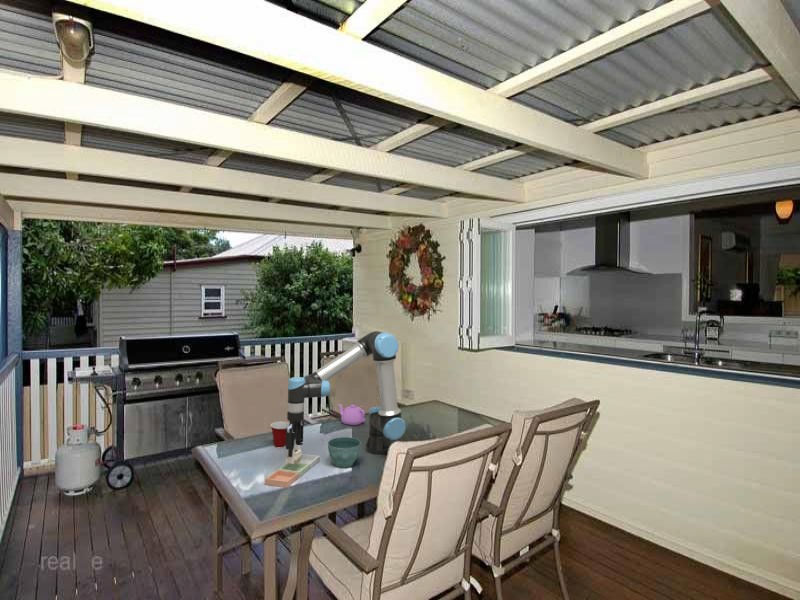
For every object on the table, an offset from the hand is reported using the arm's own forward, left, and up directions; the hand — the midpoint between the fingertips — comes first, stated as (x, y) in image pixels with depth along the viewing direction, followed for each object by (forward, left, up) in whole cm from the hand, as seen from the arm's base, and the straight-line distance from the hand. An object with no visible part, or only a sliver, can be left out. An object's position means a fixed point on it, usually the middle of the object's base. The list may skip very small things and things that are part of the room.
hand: (294, 461), depth 210 cm
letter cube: (0, 0, 0) cm, 0 cm away
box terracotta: (0, +11, -5) cm, 12 cm away
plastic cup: (+24, -30, -5) cm, 38 cm away
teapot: (+4, -84, -5) cm, 84 cm away
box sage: (0, 0, -5) cm, 5 cm away
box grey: (0, -11, -5) cm, 12 cm away
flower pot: (-18, -17, -5) cm, 25 cm away
